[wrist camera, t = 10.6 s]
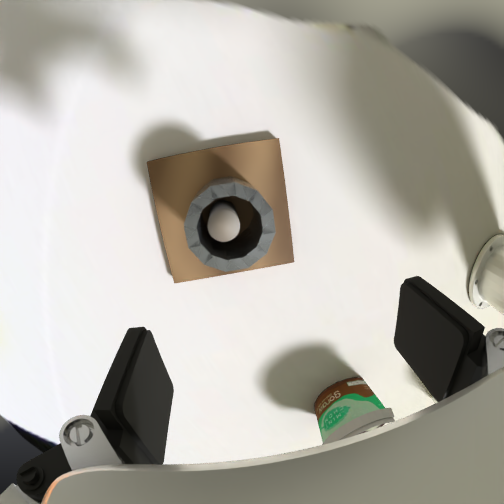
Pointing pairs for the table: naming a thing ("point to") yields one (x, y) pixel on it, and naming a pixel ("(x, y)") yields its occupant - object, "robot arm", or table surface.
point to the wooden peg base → (220, 202)
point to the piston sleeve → (243, 245)
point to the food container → (349, 410)
